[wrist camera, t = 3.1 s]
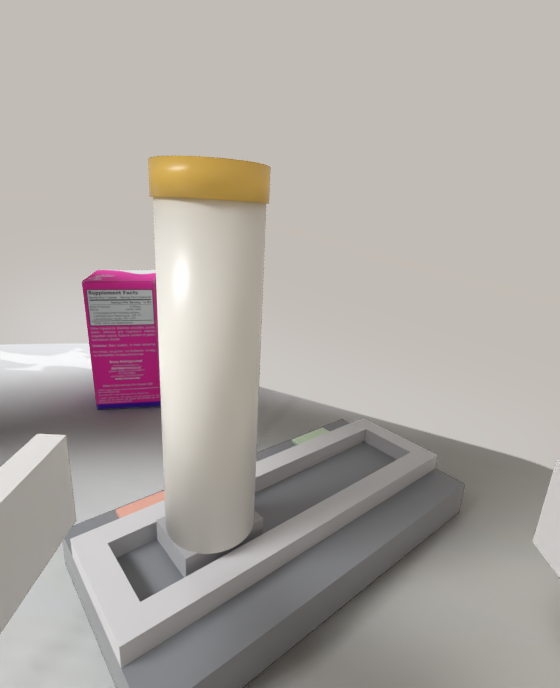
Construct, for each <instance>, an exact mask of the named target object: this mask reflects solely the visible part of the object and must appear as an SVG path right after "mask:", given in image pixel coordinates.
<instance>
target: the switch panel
mask: <svg viewBox="0 0 560 688" xmlns="http://www.w3.org/2000/svg"><path fill="white" fill-rule="evenodd" d="M437 456H438V455H437V454H435V453H433V452H431V451H429V450H427V449H425V448H423V447H421V446H419V445H417V444H415V443H413V442H411V441H409V440H407V439H405V438H403V437H401V436H399V435H397V434H395V433H393V432H391V431H389V430H387V429H385V428H383V427H381V426H379V425H377V424H375V423H373V422H371V421H369V420H367V419H365V418H361V419H359V420H357V421H354V422H352V423H348V422H347V421H345V420H343V419H341V420H338V421H336V422H333V423H331V424H328V425H326V426H323V427H321V428H318V429H316V430H313V431H311V432H308V433H306V434H303V435H301V436H298V437H296V438H293V439H291V440H288V441H286V442H283V443H280V444H278V445H275V446H273V447H270V448H268V449H265V450H263V451H260V452H258V453H256V477H255V503H254V510H255V511H256V512H257V513H258V514H259V515H260V516H261V517H262V518H263V534H262V535H260V536H259V537H257V538H255V539H253V540H251V541H250V542H248V543H246V544H244V545H242V546H240V547H239V548H237V549H235V550H233V551H231V552H230V553H228V554H226V555H224V556H222V557H221V558H219V559H217V560H215V561H213V562H212V563H210V564H208V565H206V566H204V567H203V568H201V569H199V570H197V571H195V572H194V573H192V574H190V575H188V576H186V577H185V578H184V577H183V575H182V574H181V572H180V571H179V570H178V568H177V567H176V565H175V564H174V562H173V561H172V560H171V558H170V557H169V555H168V554H167V552H166V551H165V550H164V548H163V547H162V545H161V544H160V542H159V541H158V540H157V521H156V520H157V519H160V518H162V517H164V516H165V497H164V490H162V491H160V492H157V493H154V494H152V495H149V496H147V497H144V498H142V499H139V500H137V501H134V502H132V503H129V504H127V505H124V506H122V507H119V508H117V509H114V510H112V511H109V512H107V513H104V514H102V515H99V516H97V517H94V518H91V519H89V520H86V521H84V522H81V523H79V524H76V525H74V526H72V528H71V529H70V531H69V532H68V534H67V535H66V537H65V538H64V540H63V541H62V542H63V549H64V557H65V564H66V566H67V569H68V571H69V574H70V576H71V578H72V581H73V583H74V586H75V588H76V591H77V593H78V596H79V598H80V600H81V603H82V605H83V608H84V610H85V613H86V615H87V618H88V620H89V622H90V625H91V627H92V630H93V632H94V635H95V637H96V640H97V642H98V644H99V647H100V649H101V652H102V654H103V657H104V659H105V662H106V664H107V666H108V669H109V671H110V674H111V676H112V679H113V681H114V684H115V686H116V688H243V687H244V686H245V685H246V684H248V683H249V682H250V681H251V680H253V679H254V678H255V677H256V676H258V675H259V674H260V673H261V672H262V671H264V670H265V669H266V668H267V667H269V666H270V665H271V664H272V663H274V662H275V661H276V660H277V659H278V658H280V657H281V656H282V655H283V654H285V653H286V652H287V651H288V650H290V649H291V648H292V647H293V646H294V645H296V644H297V643H298V642H299V641H301V640H302V639H303V638H304V637H306V636H307V635H308V634H309V633H310V632H312V631H313V630H314V629H315V628H317V627H318V626H319V625H320V624H322V623H323V622H324V621H325V620H326V619H328V618H329V617H330V616H331V615H333V614H334V613H335V612H336V611H338V610H339V609H340V608H341V607H342V606H344V605H345V604H346V603H347V602H349V601H350V600H351V599H352V598H354V597H355V596H356V595H357V594H358V593H360V592H361V591H362V590H363V589H365V588H366V587H367V586H368V585H370V584H371V583H372V582H373V581H374V580H376V579H377V578H378V577H379V576H381V575H382V574H383V573H384V572H386V571H387V570H388V569H389V568H390V567H392V566H393V565H394V564H395V563H397V562H398V561H399V560H400V559H402V558H403V557H404V556H405V555H406V554H408V553H409V552H410V551H411V550H413V549H414V548H415V547H416V546H418V545H419V544H420V543H421V542H422V541H424V540H425V539H426V538H427V537H429V536H430V535H431V534H432V533H434V532H435V531H436V530H437V529H438V528H440V527H441V526H442V525H443V524H445V523H446V522H447V521H448V520H450V519H451V518H452V517H453V516H454V515H456V514H457V513H458V512H459V510H460V505H461V501H462V496H463V492H464V487H465V484H464V483H462V482H460V481H458V480H456V479H454V478H452V477H450V476H449V475H447V474H445V473H443V472H441V471H439V470H437V469H435V467H436V461H437Z"/></svg>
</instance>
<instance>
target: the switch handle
mask: <svg viewBox="0 0 560 688" xmlns="http://www.w3.org/2000/svg"><path fill="white" fill-rule="evenodd" d="M148 162H149V163H148V164H149V189H150V197H153V214H154V239H155V265H156V291H157V317H158V342H159V368H160V394H161V419H162V445H163V471H164V497H165V516H164V517H162V518H160V519H157V520H156V521H157V540H158V541H159V542H160V544H161V545H162V547H163V548H164V550H165V551H166V552H167V554H168V555H169V557H170V558H171V560H172V561H173V562H174V564H175V565H176V567H177V568H178V570H179V571H180V572H181V574H182V575H183V577H184V578H185V577H186V576H188V575H190V574H192V573H194V572H195V571H197V570H199V569H201V568H203V567H204V566H206V565H208V564H210V563H212V562H213V561H215V560H217V559H219V558H221V557H222V556H224V555H226V554H228V553H230V552H231V551H233V550H235V549H237V548H239V547H240V546H242V545H244V544H246V543H248V542H250V541H251V540H253V539H255V538H257V537H259V536H260V535H262V534H263V518H262V517H261V516H260V515H259V514H258V513H257V512H256V511H255V510H254V503H255V477H256V452H257V426H258V401H259V374H260V350H261V349H260V348H261V323H262V299H263V273H264V272H263V271H264V248H265V247H264V246H265V221H266V204H267V203H269V191H270V166H267V165H264V164H260V163H255V162H249V161H243V160H234V159H225V158H214V157H199V156H156V157H150V158H149V159H148Z"/></svg>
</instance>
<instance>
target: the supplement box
mask: <svg viewBox="0 0 560 688" xmlns="http://www.w3.org/2000/svg"><path fill="white" fill-rule="evenodd" d="M82 286H83V294H84V302H85V311H86V319H87V328H88V336H89V346H90V354H91V363H92V371H93V380H94V388H95V397H96V405H97V409H118V408H142V407H161V394H160V368H159V342H158V317H157V291H156V270H97V271H96V272H94V273H93V274H92V275H90V276H89V277H88V278H86V279H85V280H83V281H82Z"/></svg>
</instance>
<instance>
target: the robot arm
mask: <svg viewBox="0 0 560 688" xmlns="http://www.w3.org/2000/svg"><path fill="white" fill-rule="evenodd" d="M75 522H76V513H75V504H74V496H73V487H72V479H71V470H70V462H69V453H68V445H67V436H66V435H55V434H36V435H35V436H34V437H33V438H32V439H31V440H30V441H29V442H28V443H26V444H25V445H24V446H23V447H22V448H21V449H20V450H19V451H18V452H16V453H15V454H14V455H13V456H12V457H11V458H10V459H9V460H8V461H7V462H5V463H4V464H3V465H2V466H1V467H0V634H1V632H2V631H3V629H4V628H5V626H6V625H7V623H8V622H9V620H10V619H11V617H12V616H13V614H14V613H15V611H16V610H17V608H18V607H19V605H20V604H21V602H22V601H23V599H24V598H25V596H26V595H27V593H28V592H29V590H30V589H31V587H32V586H33V584H34V583H35V581H36V580H37V578H38V577H39V575H40V574H41V573H42V571H43V570H44V568H45V567H46V565H47V564H48V562H49V561H50V559H51V558H52V556H53V555H54V553H55V552H56V550H57V549H58V547H59V546H60V544H61V543H62V541H63V540H64V538H65V537H66V535H67V534H68V532H69V531H70V529H71V528H72V526H73V525H74V523H75ZM533 543H534V545H535V546H536V547H537V549H538V550H539V551H540V553H541V554H542V555H543V557H544V558H545V559H546V561H547V562H548V563H549V565H550V566H551V567H552V569H553V570H554V571H555V572H556V574H557V575H558V576H559V578H560V459H557V460H556V463H555V466H554V470H553V473H552V477H551V480H550V483H549V487H548V490H547V494H546V497H545V501H544V504H543V507H542V511H541V514H540V518H539V521H538V525H537V528H536V532H535V535H534V538H533Z"/></svg>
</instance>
